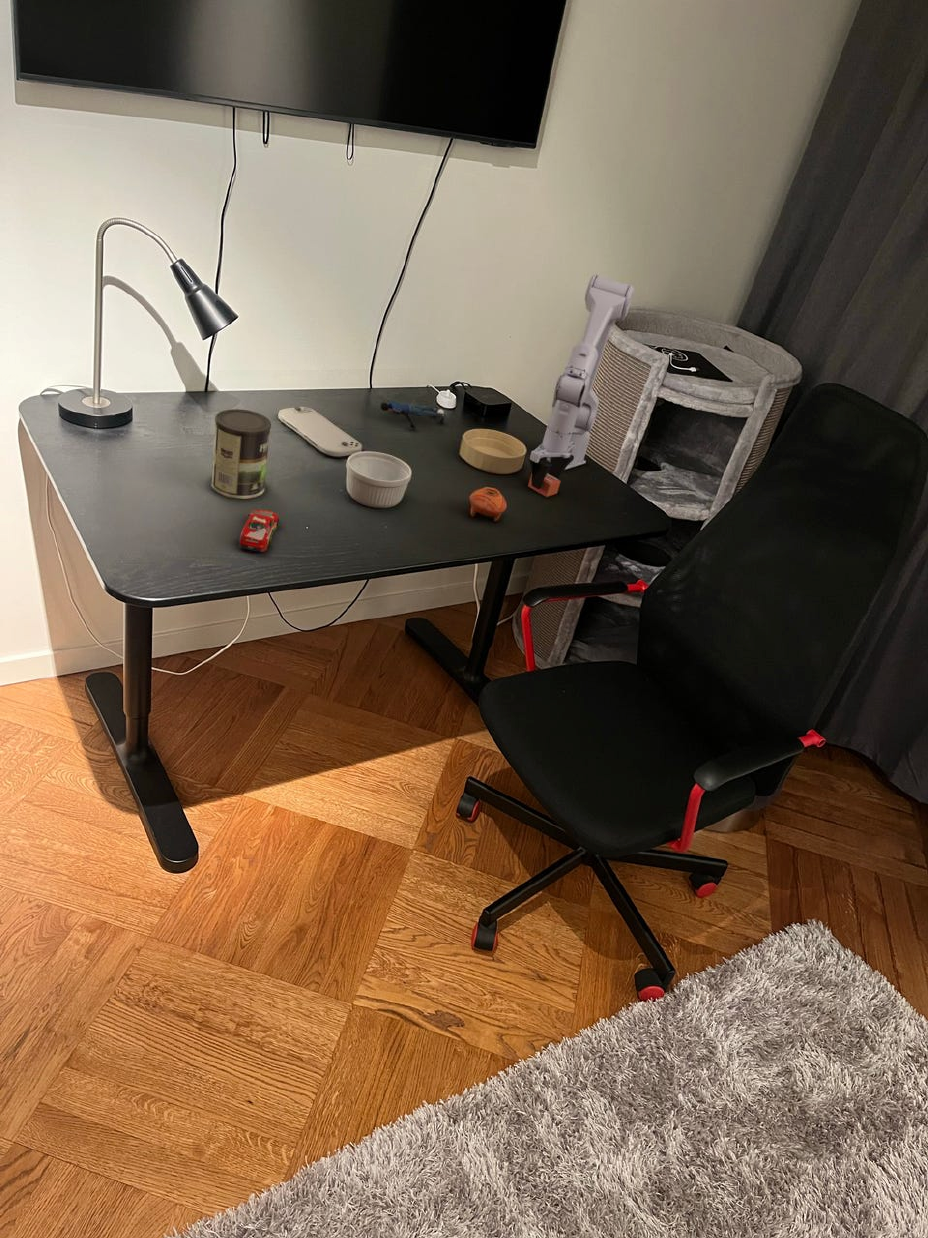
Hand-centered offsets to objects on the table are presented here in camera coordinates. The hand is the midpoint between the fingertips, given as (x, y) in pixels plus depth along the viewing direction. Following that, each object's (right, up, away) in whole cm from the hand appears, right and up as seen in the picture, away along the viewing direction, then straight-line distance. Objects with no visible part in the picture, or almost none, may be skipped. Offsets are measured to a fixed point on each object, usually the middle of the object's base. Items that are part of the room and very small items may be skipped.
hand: (543, 484), depth 207 cm
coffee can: (-63, -5, -28) cm, 69 cm away
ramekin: (-37, -5, -19) cm, 42 cm away
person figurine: (-31, +18, +18) cm, 40 cm away
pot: (-14, -9, -16) cm, 23 cm away
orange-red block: (0, -1, +1) cm, 1 cm away
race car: (-55, -16, -42) cm, 71 cm away
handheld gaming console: (-51, +10, -1) cm, 52 cm away
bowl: (-12, +7, +8) cm, 16 cm away
